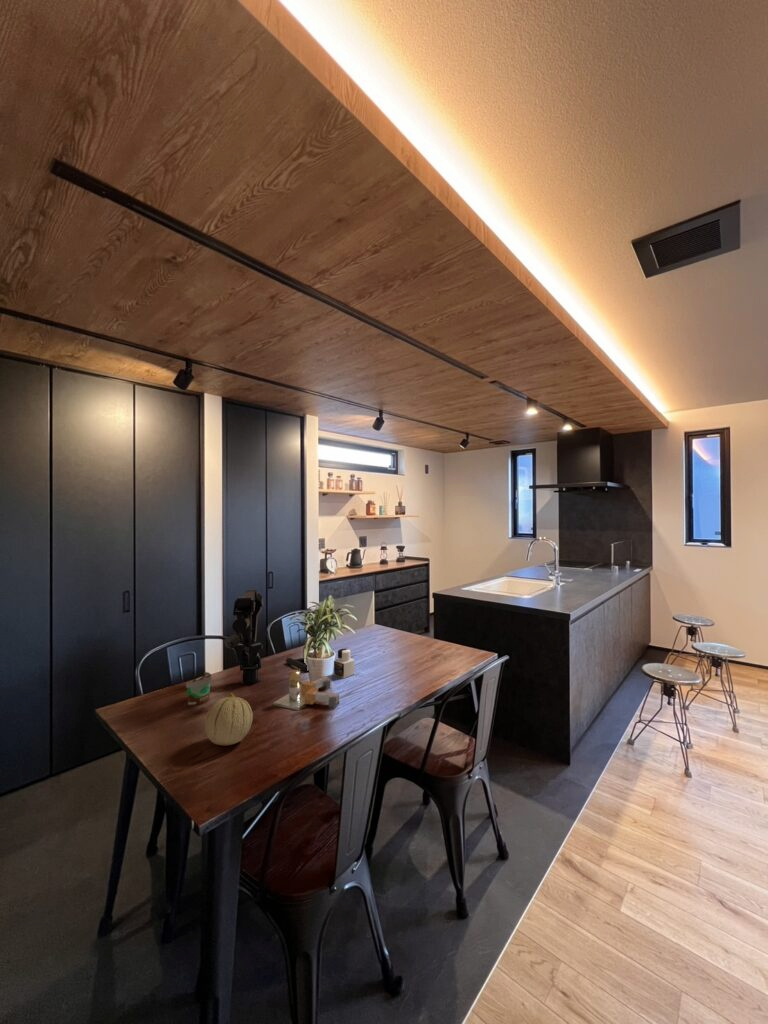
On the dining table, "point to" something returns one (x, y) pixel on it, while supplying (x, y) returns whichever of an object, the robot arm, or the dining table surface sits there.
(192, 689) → the food container
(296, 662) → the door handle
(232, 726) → the cantaloupe
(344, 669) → the medicine bottle
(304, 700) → the stand
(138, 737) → the dining table surface
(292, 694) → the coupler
